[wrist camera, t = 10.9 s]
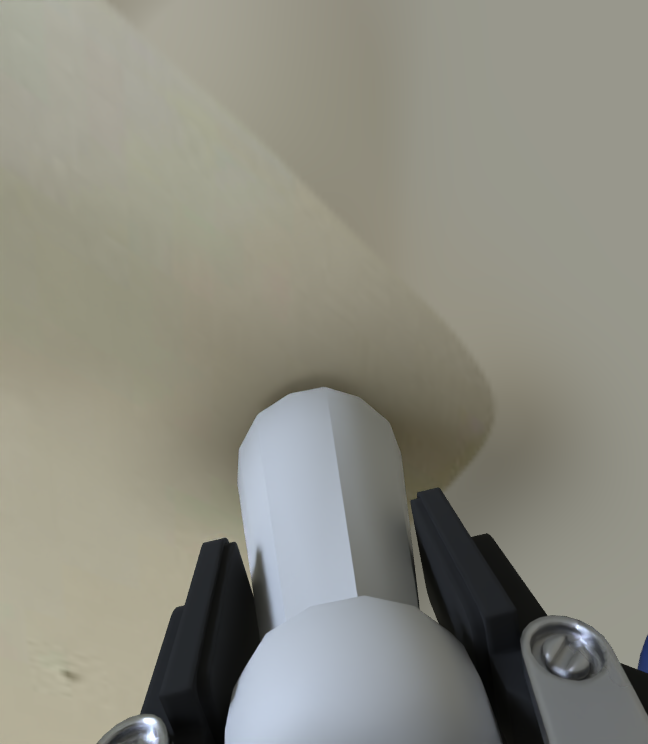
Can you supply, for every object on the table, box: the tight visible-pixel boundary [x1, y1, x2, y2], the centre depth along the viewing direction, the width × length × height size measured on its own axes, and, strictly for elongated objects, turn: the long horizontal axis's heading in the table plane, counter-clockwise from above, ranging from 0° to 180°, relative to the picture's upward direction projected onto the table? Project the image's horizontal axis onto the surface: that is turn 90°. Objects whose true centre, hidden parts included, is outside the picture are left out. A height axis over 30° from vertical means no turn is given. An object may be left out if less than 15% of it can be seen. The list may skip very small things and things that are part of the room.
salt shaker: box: [225, 387, 503, 744], centre depth 12 cm, size 6×6×13 cm
